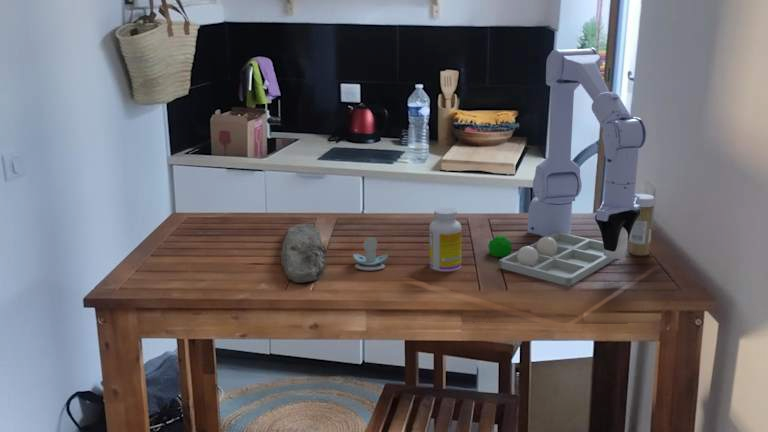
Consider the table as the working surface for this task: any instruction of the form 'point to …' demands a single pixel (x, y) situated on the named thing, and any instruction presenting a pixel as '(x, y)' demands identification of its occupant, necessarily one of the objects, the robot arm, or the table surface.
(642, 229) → the sprinkles bottle
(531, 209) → the robot arm
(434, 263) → the supplement bottle
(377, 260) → the pacifier
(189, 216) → the table surface
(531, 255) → the cream egg front
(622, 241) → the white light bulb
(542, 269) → the egg tray
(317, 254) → the long grey stone
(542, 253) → the cream egg middle
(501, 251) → the polyhedron
